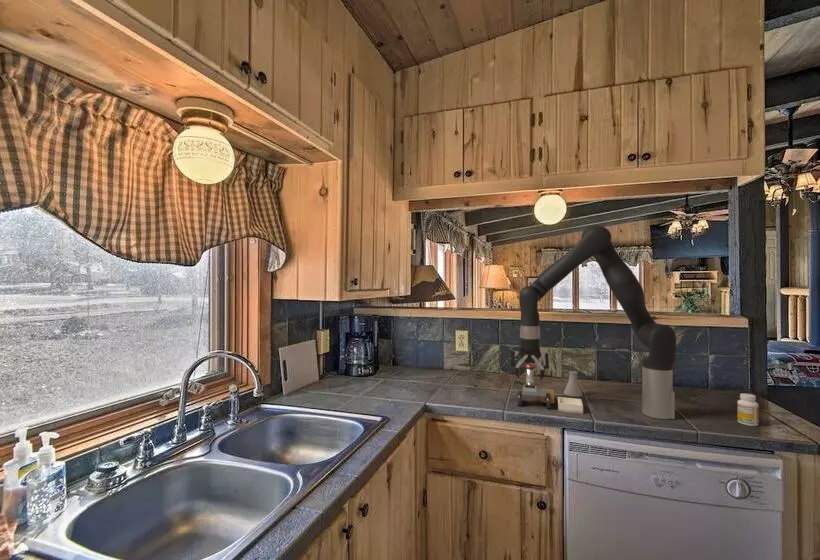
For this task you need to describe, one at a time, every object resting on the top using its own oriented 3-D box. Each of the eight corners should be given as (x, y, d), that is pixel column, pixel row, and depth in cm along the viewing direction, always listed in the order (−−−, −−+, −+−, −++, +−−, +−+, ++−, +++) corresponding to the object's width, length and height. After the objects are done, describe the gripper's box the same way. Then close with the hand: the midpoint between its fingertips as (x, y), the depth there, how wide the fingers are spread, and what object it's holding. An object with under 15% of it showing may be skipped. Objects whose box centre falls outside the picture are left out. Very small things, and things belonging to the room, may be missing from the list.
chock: (554, 400, 155) (554, 389, 155) (554, 403, 151) (554, 392, 151) (541, 399, 156) (541, 388, 156) (540, 402, 152) (540, 391, 152)
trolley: (550, 403, 150) (550, 385, 150) (550, 410, 143) (550, 391, 143) (518, 400, 154) (518, 382, 154) (517, 407, 147) (517, 388, 147)
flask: (571, 398, 157) (571, 374, 157) (560, 393, 164) (560, 370, 164) (586, 397, 159) (586, 373, 159) (574, 392, 166) (574, 369, 166)
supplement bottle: (748, 420, 132) (748, 392, 132) (763, 426, 127) (763, 397, 127) (733, 420, 132) (733, 392, 132) (747, 426, 127) (747, 397, 127)
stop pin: (534, 389, 150) (534, 364, 150) (534, 391, 147) (534, 366, 147) (525, 388, 151) (525, 363, 151) (525, 391, 148) (524, 365, 148)
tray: (580, 406, 147) (580, 398, 147) (583, 413, 139) (583, 405, 139) (557, 404, 150) (557, 396, 150) (558, 411, 142) (558, 403, 142)
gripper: (510, 337, 148) (510, 378, 148) (549, 339, 143) (549, 382, 143) (511, 334, 155) (511, 374, 155) (549, 336, 150) (548, 377, 150)
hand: (529, 378), depth 149 cm, fingers open, 8 cm apart
